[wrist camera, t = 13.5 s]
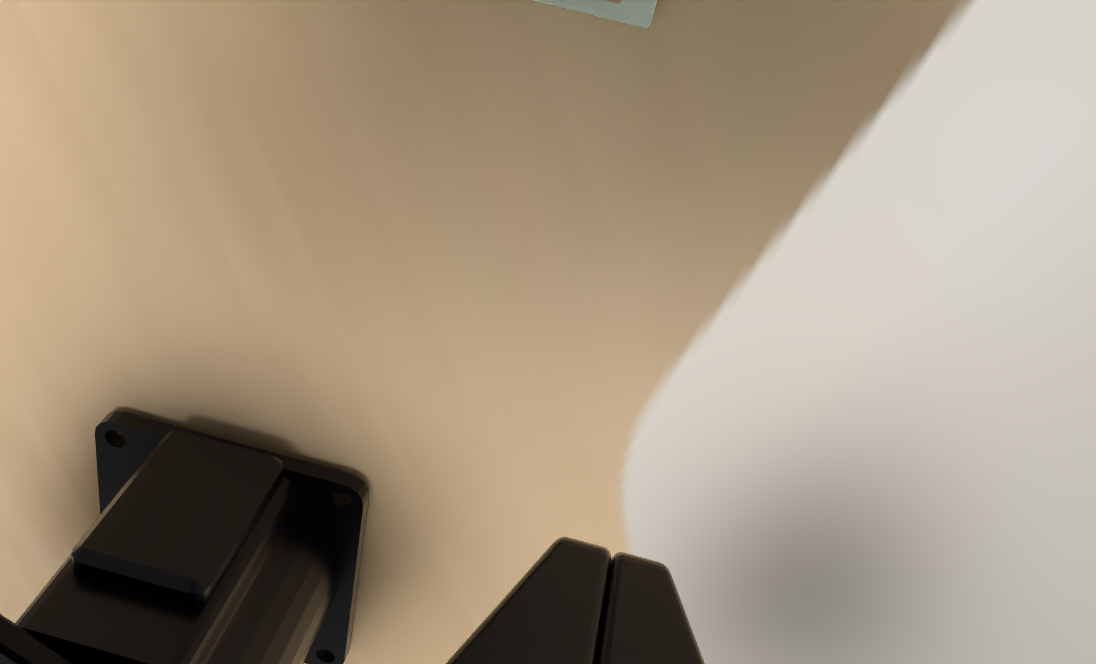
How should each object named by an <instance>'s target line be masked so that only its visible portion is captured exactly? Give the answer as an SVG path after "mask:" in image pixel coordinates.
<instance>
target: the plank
mask: <svg viewBox="0 0 1096 664" xmlns="http://www.w3.org/2000/svg"><path fill="white" fill-rule="evenodd" d="M605 1H609V2H613V3H618V4H619V3H620V1H621V0H605Z"/></svg>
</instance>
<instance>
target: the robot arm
mask: <svg viewBox="0 0 1096 664" xmlns="http://www.w3.org/2000/svg"><path fill="white" fill-rule="evenodd" d="M118 432H120V433H121V434H122V435H123V436H122V435H120V434H119V433H118ZM95 441H96V456H97V470H98V485H99V499H100V514H101V515H100V516H99V517H98V518H97V520H96V521H95V522H94V523H93V525H92V526H91V527H90V528H89V530H88V531H87V532H86V533H85V535H84V536H83V537H82V538H81V540H80V541H79V542H78V543H77V544H76V546H75V547H74V548H73V551H72V553H71V555H70V556H69V557H68V558H67V560H66V561H65V562H64V563H63V565H62V566H61V567H60V568H59V570H58V571H57V572H56V573H55V575H54V576H53V577H52V578H51V580H50V581H49V582H48V583H47V585H46V586H45V587H44V588H43V590H42V591H41V592H40V593H39V595H38V596H37V597H36V598H35V600H34V601H33V602H32V603H31V604H30V606H29V607H28V608H27V609H26V611H25V612H24V613H23V614H22V616H21V617H20V618H19V619H18V621H17V622H16V623H13V622H12V621H10V620H9V619H7V618H5V617H4V616H2V615H1V614H0V664H303V662H304V663H307V664H343V663H344V661H345V659H346V656H347V654H348V652H349V650H350V643H351V635H352V627H353V619H354V611H355V603H356V595H357V587H358V579H359V571H360V563H361V555H362V547H363V539H364V531H365V523H366V515H367V507H368V499H369V492H368V488H367V486H366V485H365V483H364V482H363V481H362V480H361V479H359V478H358V477H356V476H354V475H352V474H349V473H345V472H342V471H338V470H334V469H331V468H327V467H323V466H320V465H316V464H312V463H309V462H305V461H301V460H298V459H294V458H290V457H287V456H283V455H279V454H276V453H272V452H268V451H265V450H261V449H257V448H254V447H250V446H246V445H243V444H239V443H235V442H232V441H228V440H224V439H221V438H217V437H213V436H210V435H206V434H202V433H199V432H195V431H191V430H188V429H184V428H180V427H177V426H173V425H169V424H166V423H162V422H158V421H155V420H151V419H147V418H144V417H140V416H136V415H133V414H129V413H125V412H119V411H115V412H111V413H109V414H108V415H107V416H106V417H105V418H104V419H103V420H102V421H101V422H100V424H99V425H98V426H97V427H96V430H95ZM341 493H345V494H347V495H349V496H350V497H351V498H347V497H345V496H342V495H341ZM446 664H704V661H703V658H702V656H701V653H700V650H699V648H698V645H697V642H696V640H695V637H694V634H693V632H692V629H691V627H690V624H689V621H688V618H687V616H686V614H685V611H684V608H683V605H682V603H681V600H680V597H679V595H678V592H677V589H676V587H675V584H674V581H673V579H672V576H671V574H670V572H669V570H668V568H667V567H666V566H664V565H663V564H662V563H659V562H656V561H652V560H648V559H645V558H641V557H637V556H634V555H630V554H627V553H621V552H620V553H617V554H615V555H614V556H613V557H612V559H611V555H610V552H609V551H608V550H607V549H606V548H604V547H601V546H598V545H594V544H590V543H586V542H583V541H579V540H575V539H572V538H568V537H562V538H559V539H558V540H556V541H555V542H554V543H553V544H552V545H551V546H550V547H549V548H548V549H547V551H546V552H545V553H544V554H543V555H542V556H541V557H540V558H539V560H538V561H537V562H536V563H535V564H534V565H533V566H532V567H531V569H530V570H529V571H528V572H527V573H526V574H525V575H524V576H523V578H522V579H521V580H520V581H519V582H518V583H517V584H516V585H515V587H514V588H513V589H512V590H511V591H510V592H509V593H508V594H507V596H506V597H505V598H504V599H503V600H502V601H501V602H500V603H499V605H498V606H497V607H496V608H495V609H494V610H493V611H492V612H491V614H490V615H489V616H488V617H487V618H486V619H485V620H484V621H483V623H482V624H481V625H480V626H479V627H478V628H477V629H476V630H475V632H474V633H473V634H472V635H471V636H470V637H469V638H468V639H467V640H466V642H465V643H464V644H463V645H462V646H461V647H460V648H459V649H458V651H457V652H456V653H455V654H454V655H453V656H452V657H451V658H450V660H449V661H448V662H447V663H446Z"/></svg>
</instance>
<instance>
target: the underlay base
mask: <svg viewBox="0 0 1096 664" xmlns="http://www.w3.org/2000/svg"><path fill="white" fill-rule="evenodd" d="M533 1H537V2H541V3H545V4H549V5H553V6H557V7H561V8H565V9H569V10H573V11H577V12H581V13H586V14H590V15H594V16H598V17H602V18H606V19H610V20H614V21H618V22H622V23H626V24H630V25H634V26H638V27H642V28H646V29H649V26H650V23H651V20H652V18H653V15H654V12H655V8H656V4H657V0H621V1H620V3H619V4H618V3H613V2H609V1H605V0H533Z"/></svg>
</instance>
